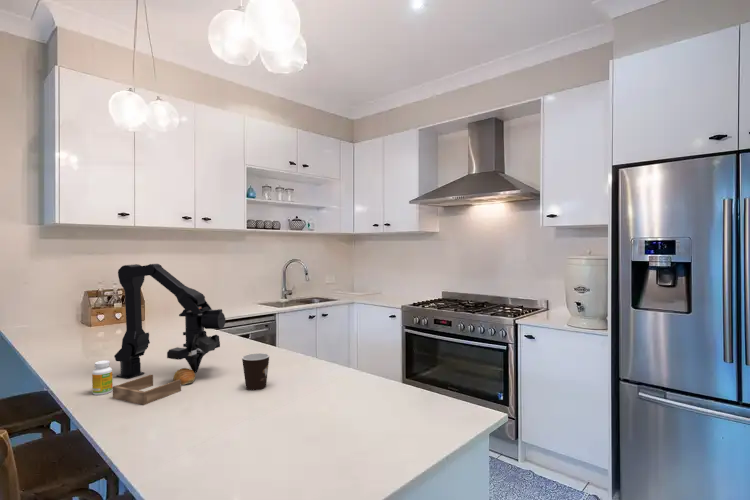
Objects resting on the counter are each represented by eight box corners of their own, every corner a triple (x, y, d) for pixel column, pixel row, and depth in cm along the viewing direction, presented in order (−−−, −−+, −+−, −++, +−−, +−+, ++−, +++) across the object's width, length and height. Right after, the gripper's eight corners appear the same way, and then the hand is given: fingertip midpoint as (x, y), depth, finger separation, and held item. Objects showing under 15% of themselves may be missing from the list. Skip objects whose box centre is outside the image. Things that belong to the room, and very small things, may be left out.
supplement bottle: (102, 395, 131) (102, 364, 131) (88, 394, 132) (87, 363, 132) (116, 389, 136) (116, 360, 136) (102, 388, 137) (102, 359, 137)
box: (112, 398, 129) (112, 386, 129) (151, 384, 141) (150, 374, 141) (143, 405, 123) (143, 393, 123) (181, 390, 135) (180, 379, 135)
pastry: (198, 383, 142) (198, 372, 142) (177, 387, 138) (176, 376, 138) (192, 376, 150) (192, 365, 150) (171, 380, 146) (171, 369, 146)
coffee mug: (255, 393, 132) (254, 361, 132) (236, 388, 136) (236, 357, 136) (281, 382, 142) (281, 353, 142) (263, 378, 146) (263, 350, 146)
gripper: (189, 336, 136) (190, 383, 137) (231, 325, 153) (231, 367, 154) (165, 333, 141) (166, 379, 141) (208, 323, 158) (209, 364, 158)
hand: (195, 372), depth 149 cm, fingers closed
